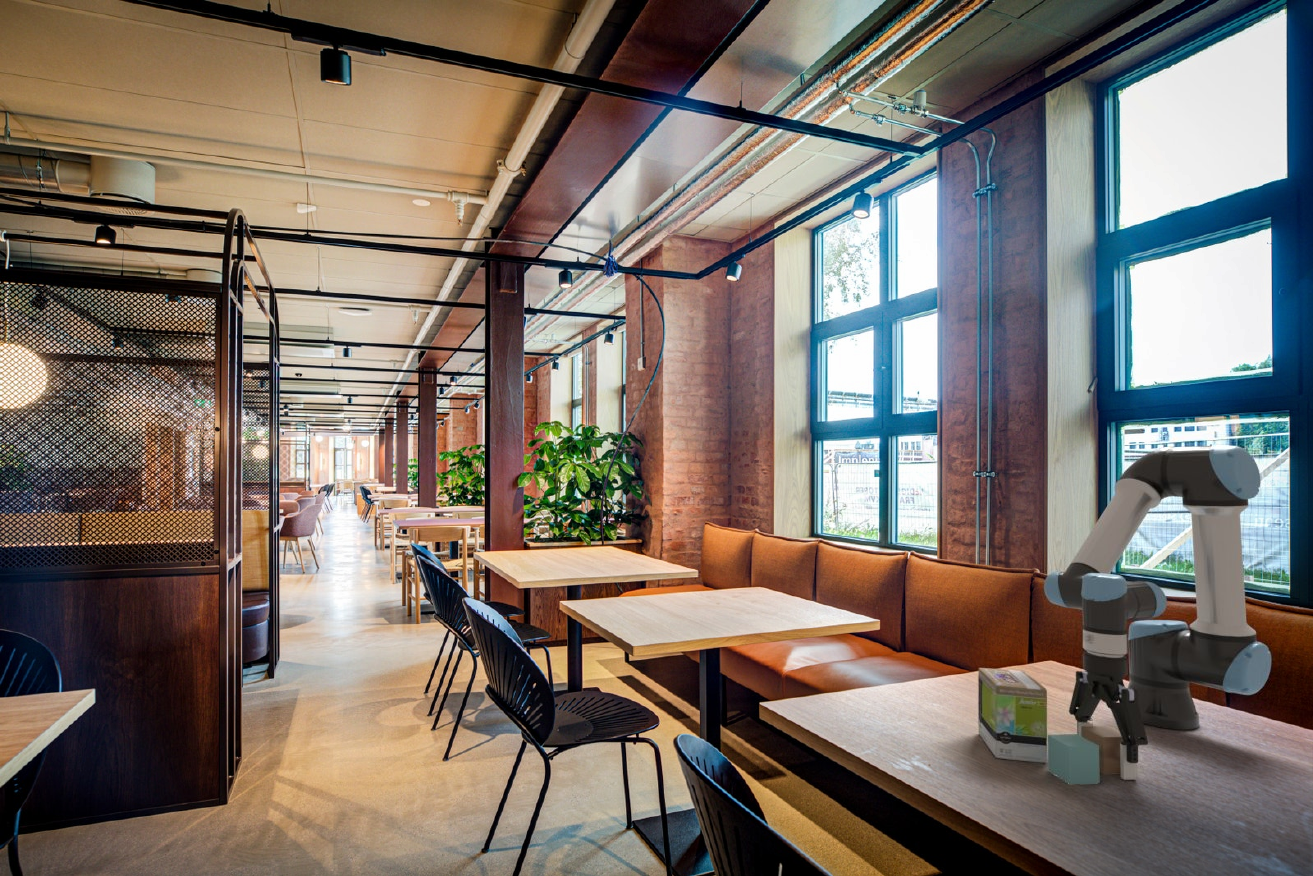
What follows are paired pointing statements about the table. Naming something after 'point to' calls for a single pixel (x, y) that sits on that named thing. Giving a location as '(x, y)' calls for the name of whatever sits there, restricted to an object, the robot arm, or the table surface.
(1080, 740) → the teal block
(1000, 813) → the table surface
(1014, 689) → the tea box
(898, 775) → the table surface
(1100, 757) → the walnut block
